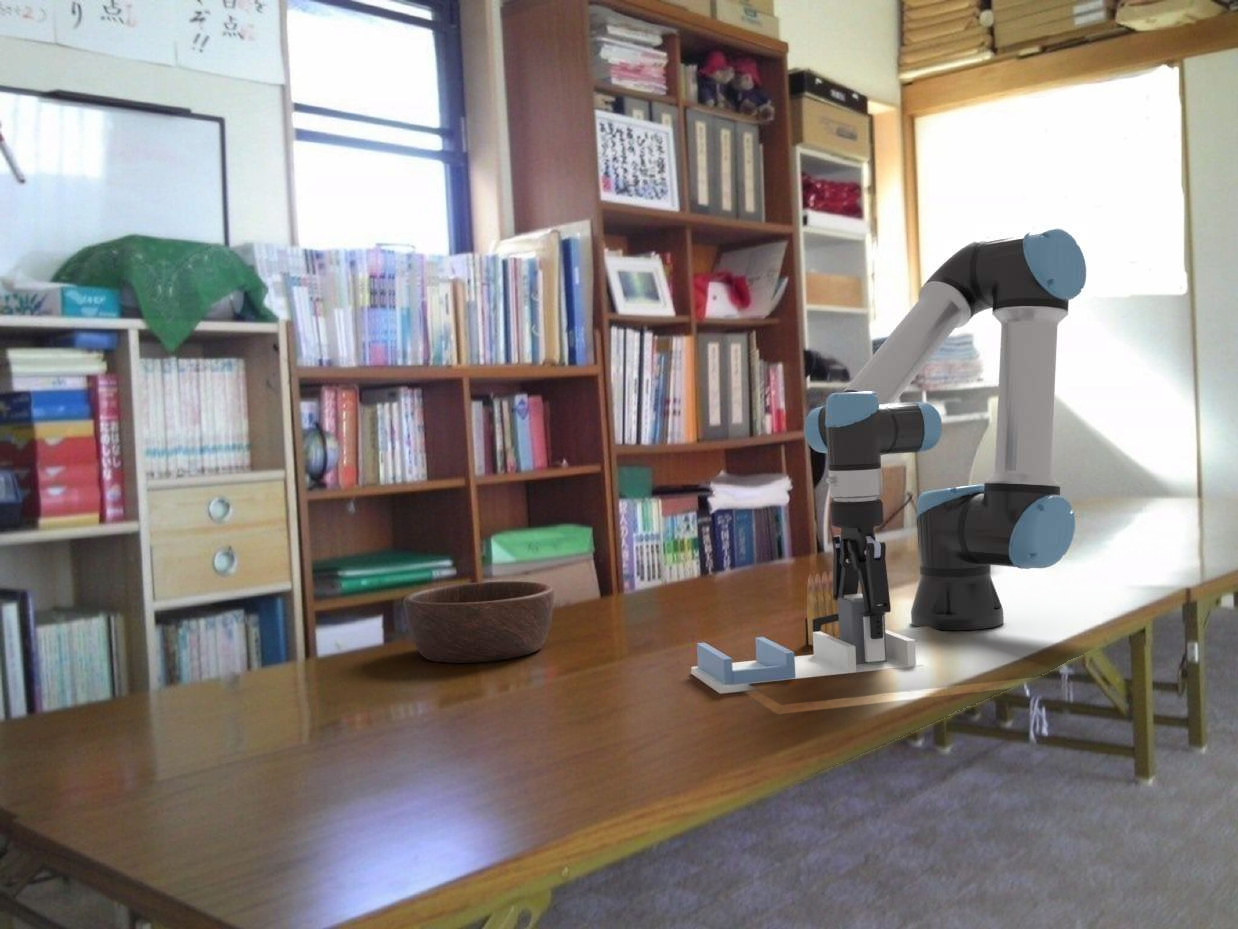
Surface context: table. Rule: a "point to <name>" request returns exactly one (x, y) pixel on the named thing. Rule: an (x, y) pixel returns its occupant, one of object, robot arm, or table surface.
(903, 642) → the slotted holder tray
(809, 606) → the ammunition clip
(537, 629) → the wooden bowl
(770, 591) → the table surface
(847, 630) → the plug
